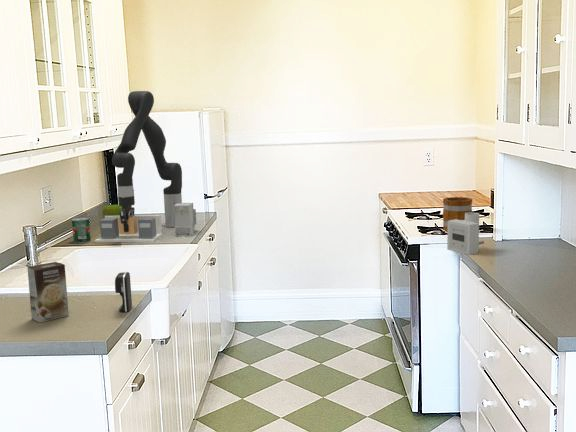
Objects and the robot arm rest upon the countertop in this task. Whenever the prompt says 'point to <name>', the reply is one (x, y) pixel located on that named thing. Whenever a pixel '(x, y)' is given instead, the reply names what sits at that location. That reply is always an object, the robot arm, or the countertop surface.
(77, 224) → the canned tomato
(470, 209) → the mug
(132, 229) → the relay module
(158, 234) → the panel
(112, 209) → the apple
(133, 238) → the rail
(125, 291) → the battery charger
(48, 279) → the coffee box
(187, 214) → the circuit breaker
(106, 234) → the block
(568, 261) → the countertop surface
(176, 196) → the robot arm
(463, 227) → the thermostat
